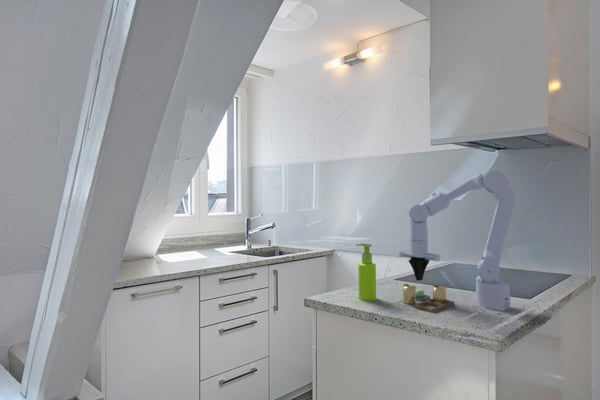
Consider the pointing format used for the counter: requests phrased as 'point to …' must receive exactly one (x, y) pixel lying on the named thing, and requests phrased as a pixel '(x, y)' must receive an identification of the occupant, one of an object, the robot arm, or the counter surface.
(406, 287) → the cylinder
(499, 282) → the robot arm
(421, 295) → the button
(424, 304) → the wooden tray
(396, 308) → the counter surface
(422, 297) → the button housing
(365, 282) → the soap dispenser
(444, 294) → the cylinder
